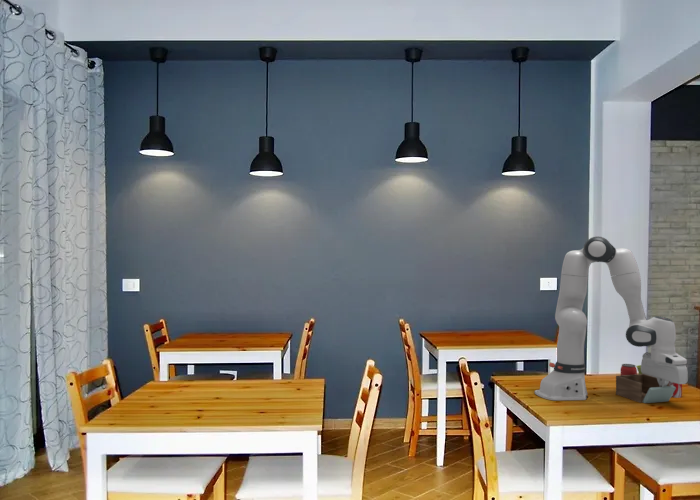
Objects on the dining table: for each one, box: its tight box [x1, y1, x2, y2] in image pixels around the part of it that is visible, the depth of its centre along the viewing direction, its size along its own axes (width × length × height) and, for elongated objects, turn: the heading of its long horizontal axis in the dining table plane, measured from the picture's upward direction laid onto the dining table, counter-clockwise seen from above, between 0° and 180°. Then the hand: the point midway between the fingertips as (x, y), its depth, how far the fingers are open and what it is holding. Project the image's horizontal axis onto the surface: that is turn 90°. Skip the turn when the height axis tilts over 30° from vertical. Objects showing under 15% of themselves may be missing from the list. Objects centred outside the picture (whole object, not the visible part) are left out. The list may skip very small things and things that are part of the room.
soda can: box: [669, 381, 683, 399], centre depth 231 cm, size 7×7×12 cm
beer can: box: [620, 363, 638, 375], centre depth 242 cm, size 7×7×12 cm
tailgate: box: [642, 386, 676, 404], centre depth 219 cm, size 12×1×8 cm, turn 105°
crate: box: [615, 373, 669, 404], centre depth 228 cm, size 14×14×9 cm
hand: (662, 389), depth 220 cm, fingers closed
